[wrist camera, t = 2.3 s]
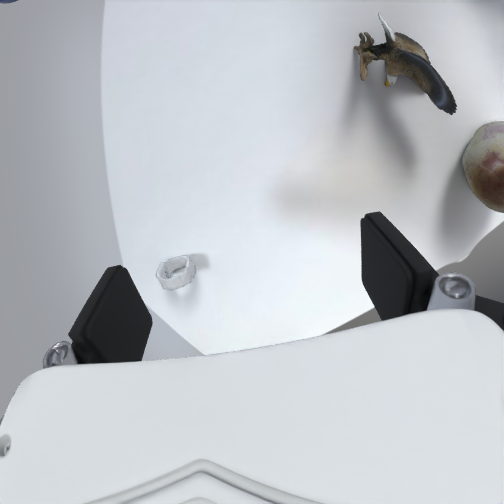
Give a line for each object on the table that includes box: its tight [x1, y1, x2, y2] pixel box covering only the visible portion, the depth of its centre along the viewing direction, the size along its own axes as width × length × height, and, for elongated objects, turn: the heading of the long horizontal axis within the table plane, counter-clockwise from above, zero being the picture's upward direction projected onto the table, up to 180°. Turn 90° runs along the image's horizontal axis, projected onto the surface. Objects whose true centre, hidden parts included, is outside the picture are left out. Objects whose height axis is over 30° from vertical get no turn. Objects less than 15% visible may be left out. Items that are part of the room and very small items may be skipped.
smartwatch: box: [156, 256, 196, 290], centre depth 28 cm, size 4×2×4 cm, turn 105°
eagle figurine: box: [354, 13, 457, 115], centre depth 17 cm, size 8×7×9 cm
